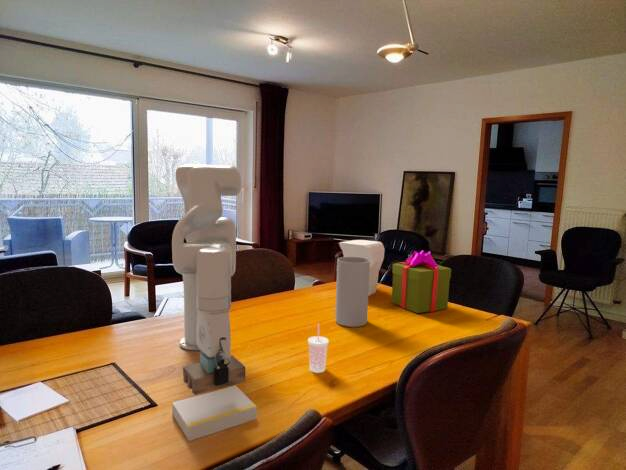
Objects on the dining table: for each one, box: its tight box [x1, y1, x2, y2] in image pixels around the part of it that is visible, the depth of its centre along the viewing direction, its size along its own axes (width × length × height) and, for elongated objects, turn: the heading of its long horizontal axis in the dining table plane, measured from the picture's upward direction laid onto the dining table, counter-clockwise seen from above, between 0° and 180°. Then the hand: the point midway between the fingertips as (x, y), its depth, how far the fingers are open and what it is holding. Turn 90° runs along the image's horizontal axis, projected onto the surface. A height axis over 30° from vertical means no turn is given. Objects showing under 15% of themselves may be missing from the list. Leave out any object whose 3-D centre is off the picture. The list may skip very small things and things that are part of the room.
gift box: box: [391, 249, 452, 314], centre depth 189 cm, size 21×21×25 cm
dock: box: [171, 384, 258, 442], centre depth 99 cm, size 16×12×3 cm
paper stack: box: [337, 239, 386, 297], centre depth 209 cm, size 21×27×26 cm
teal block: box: [199, 351, 229, 373], centre depth 98 cm, size 5×5×3 cm
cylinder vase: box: [334, 256, 370, 328], centre depth 166 cm, size 12×12×25 cm
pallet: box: [182, 354, 246, 396], centre depth 98 cm, size 12×8×4 cm, turn 124°
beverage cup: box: [307, 322, 330, 374], centre depth 125 cm, size 6×6×14 cm
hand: (214, 376), depth 98 cm, fingers closed on pallet, 7 cm apart
